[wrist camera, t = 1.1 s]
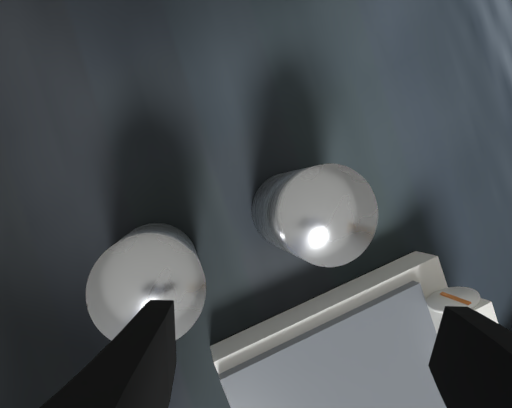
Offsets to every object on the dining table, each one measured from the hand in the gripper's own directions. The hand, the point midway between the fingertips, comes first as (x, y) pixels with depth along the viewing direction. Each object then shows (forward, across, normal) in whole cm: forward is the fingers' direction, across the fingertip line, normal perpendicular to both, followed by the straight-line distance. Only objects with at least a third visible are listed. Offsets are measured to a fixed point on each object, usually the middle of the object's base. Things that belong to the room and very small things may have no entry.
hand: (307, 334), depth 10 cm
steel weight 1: (+10, +6, +4) cm, 12 cm away
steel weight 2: (+12, -1, +1) cm, 12 cm away
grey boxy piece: (+9, -5, +10) cm, 14 cm away
